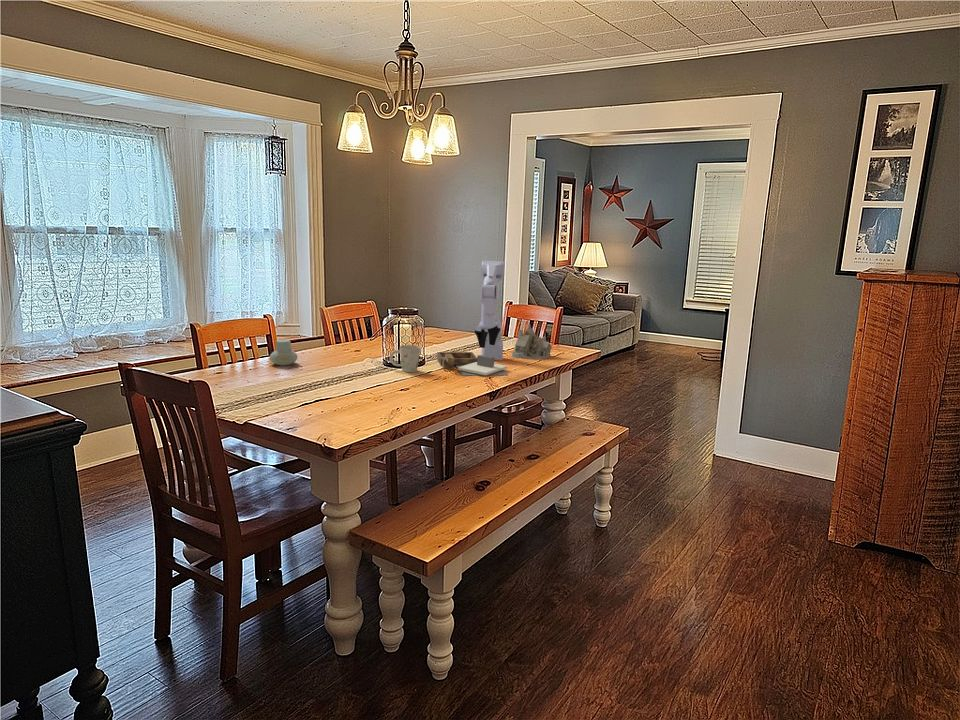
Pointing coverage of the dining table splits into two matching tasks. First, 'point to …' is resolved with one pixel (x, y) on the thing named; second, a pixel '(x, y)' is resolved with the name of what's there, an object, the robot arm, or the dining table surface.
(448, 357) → the key
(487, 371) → the lid
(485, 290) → the robot arm
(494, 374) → the mat
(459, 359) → the brown wooden tray
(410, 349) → the mug
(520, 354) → the ceramic cottage
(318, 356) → the dining table surface
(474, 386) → the dining table surface
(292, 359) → the air freshener
